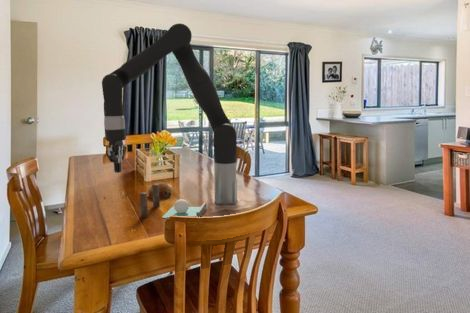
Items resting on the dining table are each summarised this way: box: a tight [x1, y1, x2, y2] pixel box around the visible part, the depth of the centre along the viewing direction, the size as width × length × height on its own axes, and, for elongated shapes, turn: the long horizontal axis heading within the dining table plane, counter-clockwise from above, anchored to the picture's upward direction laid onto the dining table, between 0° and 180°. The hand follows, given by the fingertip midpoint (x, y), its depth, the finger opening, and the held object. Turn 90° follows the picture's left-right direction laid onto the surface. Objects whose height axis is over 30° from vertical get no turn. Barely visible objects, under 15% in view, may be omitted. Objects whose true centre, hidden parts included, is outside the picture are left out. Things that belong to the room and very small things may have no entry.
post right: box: [151, 183, 161, 208], centre depth 144 cm, size 3×3×9 cm
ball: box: [173, 198, 190, 214], centre depth 136 cm, size 6×6×6 cm
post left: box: [139, 191, 149, 219], centre depth 132 cm, size 3×3×9 cm
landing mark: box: [161, 205, 208, 219], centre depth 137 cm, size 14×14×1 cm
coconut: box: [147, 181, 173, 200], centre depth 159 cm, size 10×10×8 cm
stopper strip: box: [196, 202, 207, 217], centre depth 136 cm, size 1×12×2 cm, turn 172°
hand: (118, 172), depth 138 cm, fingers closed
